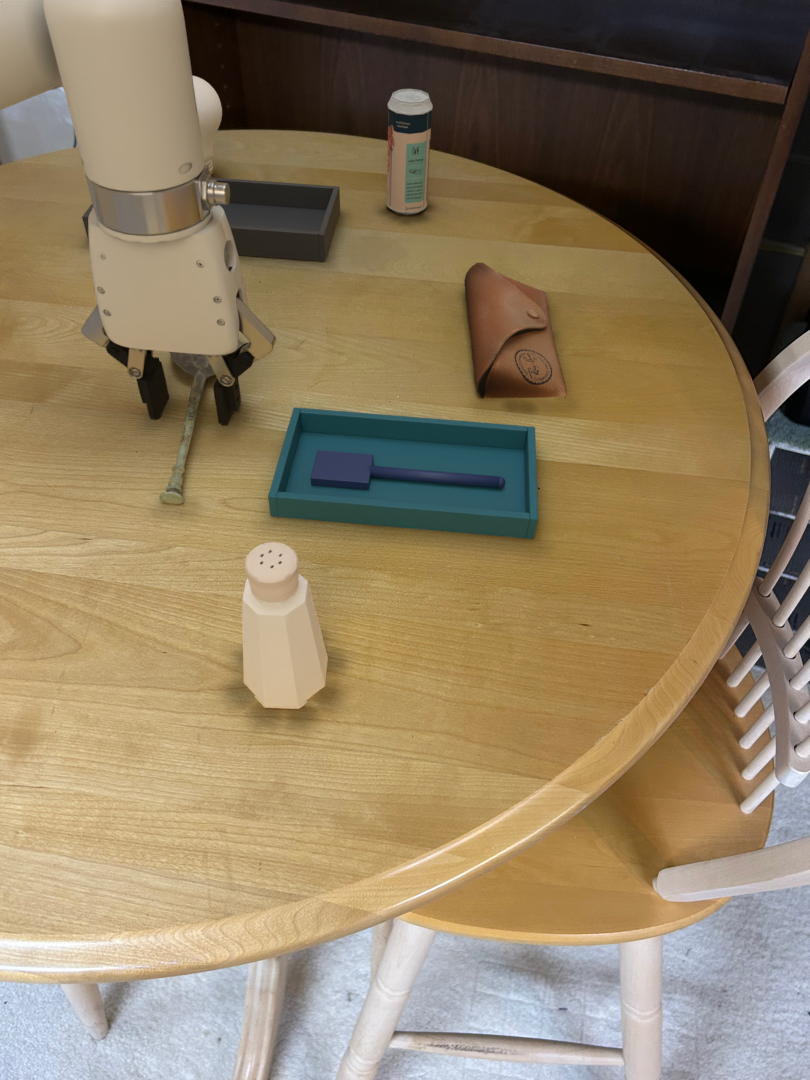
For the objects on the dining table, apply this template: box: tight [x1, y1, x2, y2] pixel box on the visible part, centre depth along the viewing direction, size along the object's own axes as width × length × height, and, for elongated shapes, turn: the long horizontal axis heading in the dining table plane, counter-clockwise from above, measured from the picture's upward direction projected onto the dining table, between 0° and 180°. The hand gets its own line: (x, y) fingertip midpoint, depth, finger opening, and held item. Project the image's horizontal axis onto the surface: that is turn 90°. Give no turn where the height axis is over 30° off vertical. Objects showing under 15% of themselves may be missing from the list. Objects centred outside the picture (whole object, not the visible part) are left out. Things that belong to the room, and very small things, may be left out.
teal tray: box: [267, 406, 539, 540], centre depth 61 cm, size 19×10×2 cm, turn 85°
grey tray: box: [81, 176, 341, 262], centre depth 87 cm, size 25×11×3 cm, turn 85°
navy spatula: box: [311, 450, 505, 490], centre depth 61 cm, size 15×3×1 cm, turn 85°
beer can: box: [385, 88, 434, 216], centre depth 89 cm, size 5×5×12 cm
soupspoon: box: [159, 338, 245, 505], centre depth 66 cm, size 22×3×7 cm
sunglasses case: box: [464, 261, 568, 399], centre depth 74 cm, size 18×7×7 cm
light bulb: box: [192, 75, 223, 175], centre depth 92 cm, size 7×7×11 cm
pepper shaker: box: [241, 541, 329, 710], centre depth 46 cm, size 5×5×11 cm
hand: (193, 410), depth 66 cm, fingers closed on soupspoon, 5 cm apart
